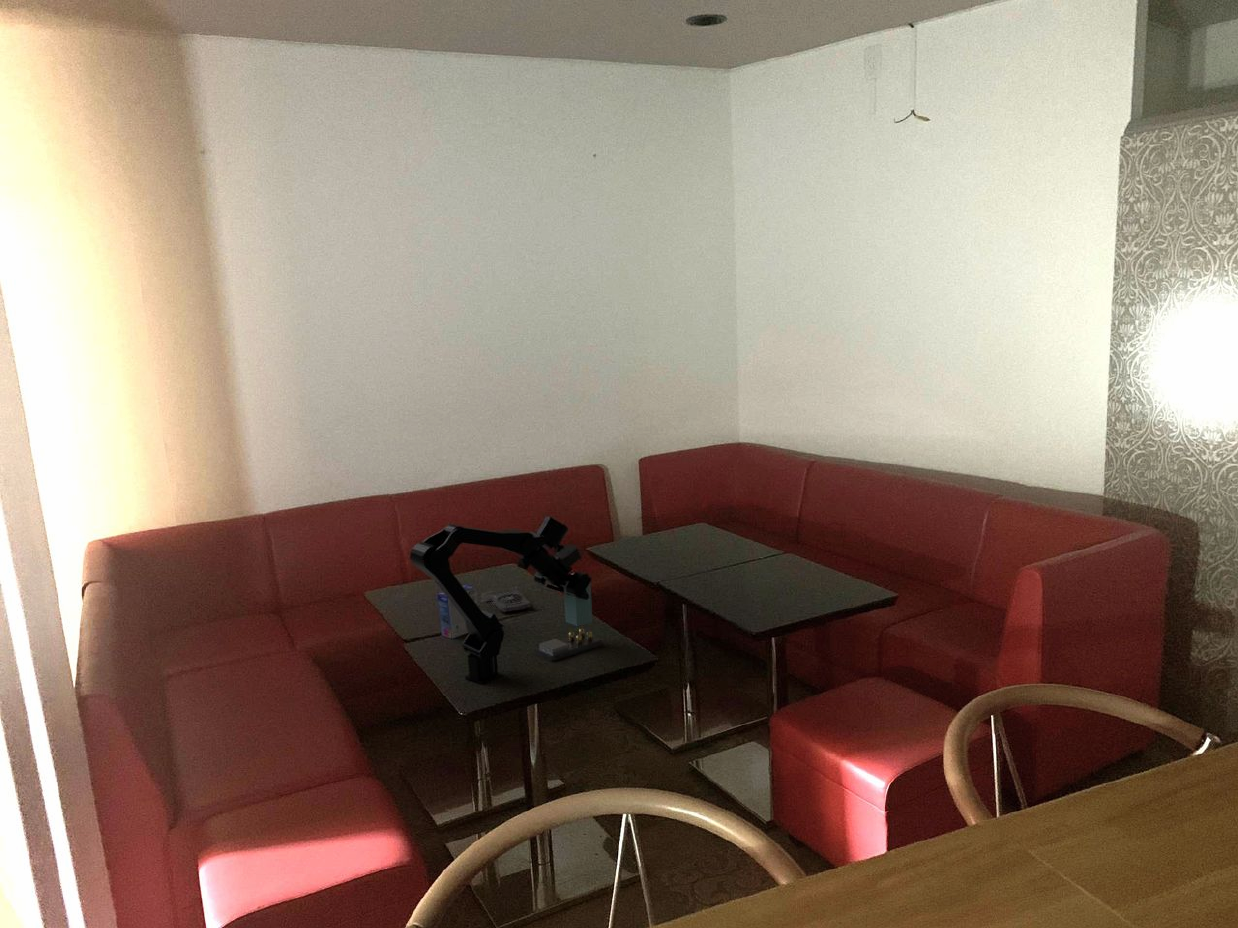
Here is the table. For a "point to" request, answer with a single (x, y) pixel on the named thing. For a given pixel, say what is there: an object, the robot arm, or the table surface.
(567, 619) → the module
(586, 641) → the chassis
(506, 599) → the graphics card
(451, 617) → the ink cartridge box
